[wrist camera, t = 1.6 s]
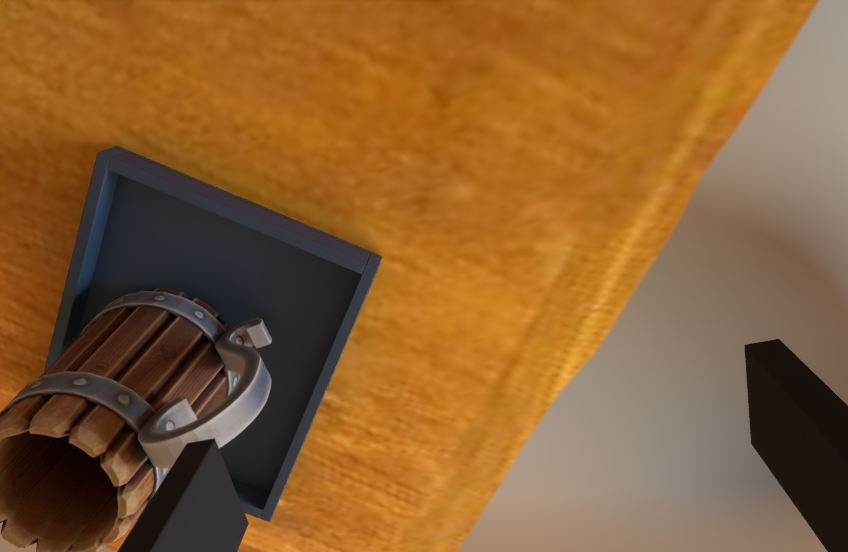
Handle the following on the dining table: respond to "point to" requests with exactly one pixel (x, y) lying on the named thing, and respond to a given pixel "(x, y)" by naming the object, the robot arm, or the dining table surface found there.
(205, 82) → the dining table surface
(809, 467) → the robot arm
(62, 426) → the mug
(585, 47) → the dining table surface
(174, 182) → the tray
